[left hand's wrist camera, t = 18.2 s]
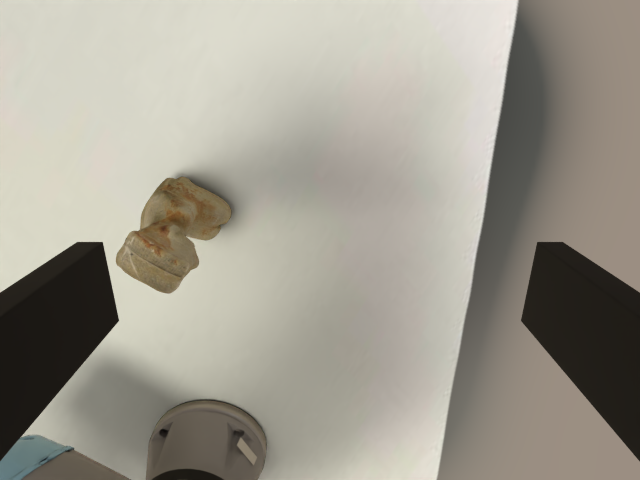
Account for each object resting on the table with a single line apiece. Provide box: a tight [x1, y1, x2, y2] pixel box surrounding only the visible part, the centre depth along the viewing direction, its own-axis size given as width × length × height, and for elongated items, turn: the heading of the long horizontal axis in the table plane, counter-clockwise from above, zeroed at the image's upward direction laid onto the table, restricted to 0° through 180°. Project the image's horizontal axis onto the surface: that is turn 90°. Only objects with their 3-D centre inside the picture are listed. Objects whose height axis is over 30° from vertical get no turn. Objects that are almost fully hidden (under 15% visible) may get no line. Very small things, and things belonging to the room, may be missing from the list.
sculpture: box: [116, 177, 231, 293], centre depth 36 cm, size 6×7×15 cm
